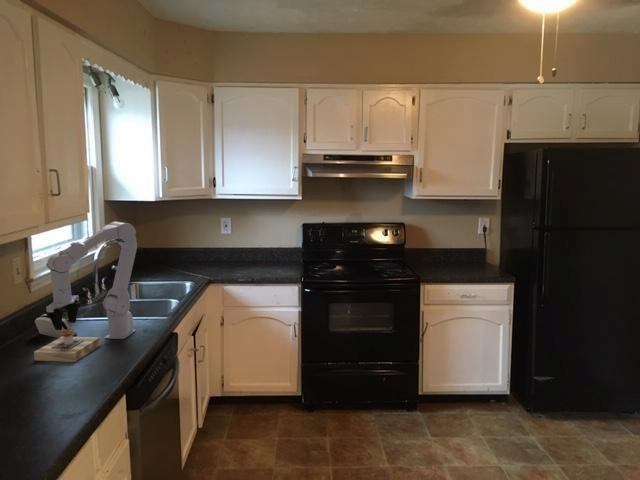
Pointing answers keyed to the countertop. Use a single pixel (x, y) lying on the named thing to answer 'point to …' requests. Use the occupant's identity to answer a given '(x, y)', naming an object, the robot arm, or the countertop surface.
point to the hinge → (51, 326)
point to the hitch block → (67, 349)
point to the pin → (68, 337)
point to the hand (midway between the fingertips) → (65, 325)
